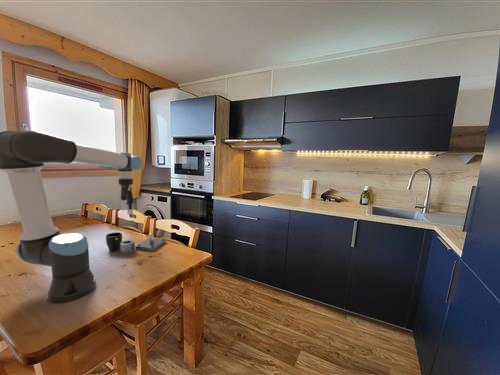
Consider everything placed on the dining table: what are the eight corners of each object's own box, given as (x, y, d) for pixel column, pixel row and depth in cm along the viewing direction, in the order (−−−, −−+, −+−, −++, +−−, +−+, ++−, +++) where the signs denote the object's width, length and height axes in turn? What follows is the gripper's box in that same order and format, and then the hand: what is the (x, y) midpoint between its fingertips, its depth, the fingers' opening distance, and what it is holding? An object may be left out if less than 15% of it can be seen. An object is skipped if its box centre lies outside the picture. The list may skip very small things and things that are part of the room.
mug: (109, 256, 118) (108, 240, 116) (105, 249, 126) (104, 234, 125) (125, 252, 123) (124, 236, 122) (121, 245, 132) (120, 231, 131)
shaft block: (153, 251, 125) (153, 238, 124) (135, 249, 127) (134, 236, 126) (166, 242, 139) (165, 230, 138) (149, 240, 141) (149, 229, 140)
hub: (128, 255, 119) (128, 245, 118) (117, 253, 120) (117, 244, 120) (137, 249, 126) (137, 240, 126) (126, 248, 127) (126, 239, 127)
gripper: (138, 179, 120) (139, 215, 122) (127, 176, 138) (128, 207, 140) (123, 180, 115) (125, 217, 117) (114, 176, 133) (115, 209, 135)
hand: (127, 212), depth 129 cm, fingers open, 13 cm apart
